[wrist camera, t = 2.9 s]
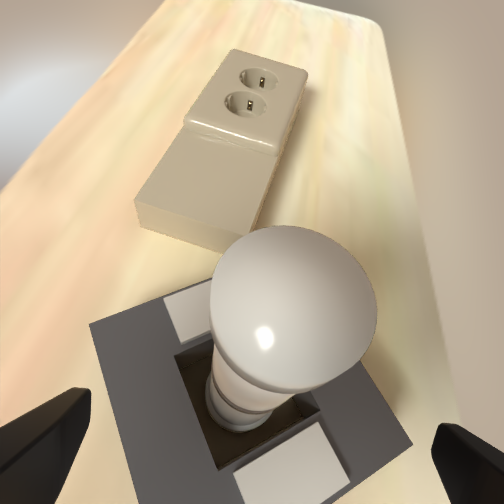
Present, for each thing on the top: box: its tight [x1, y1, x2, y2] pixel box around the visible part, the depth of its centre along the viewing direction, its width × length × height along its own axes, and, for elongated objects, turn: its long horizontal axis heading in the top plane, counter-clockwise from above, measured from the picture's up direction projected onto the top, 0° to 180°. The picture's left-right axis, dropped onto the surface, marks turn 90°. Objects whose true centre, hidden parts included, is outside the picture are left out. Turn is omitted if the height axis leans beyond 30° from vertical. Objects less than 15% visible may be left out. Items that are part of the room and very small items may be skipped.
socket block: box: [89, 277, 413, 504], centre depth 16 cm, size 11×11×3 cm
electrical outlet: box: [134, 49, 308, 254], centre depth 26 cm, size 7×4×18 cm
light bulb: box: [205, 226, 377, 433], centre depth 12 cm, size 4×4×12 cm
